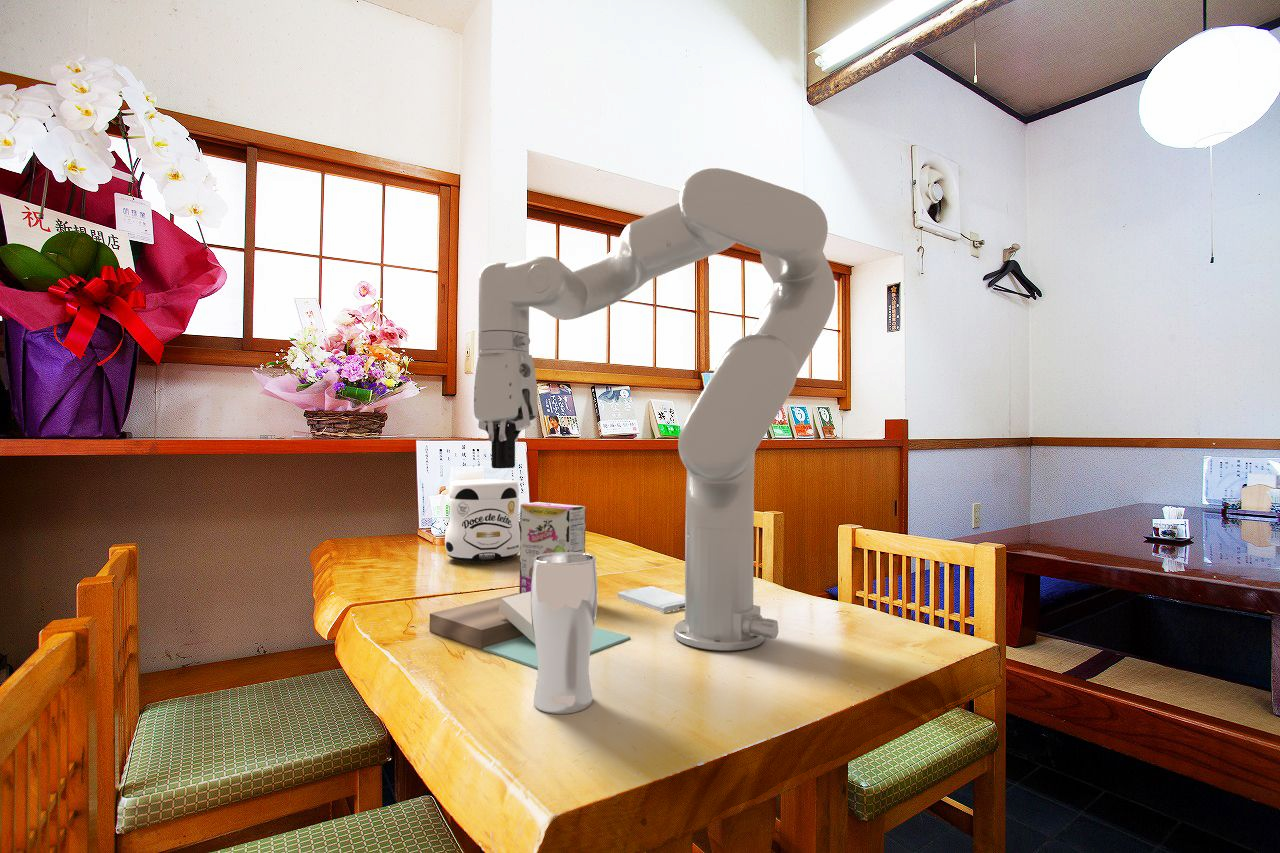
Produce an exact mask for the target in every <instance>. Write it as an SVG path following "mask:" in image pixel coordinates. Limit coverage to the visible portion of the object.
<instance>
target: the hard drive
mask: <svg viewBox="0 0 1280 853" xmlns="http://www.w3.org/2000/svg"><path fill="white" fill-rule="evenodd" d="M617 597H619V598H622V599H624V600H623V601H625V600H627V601H626V602H628V601H630V602H629V603H631V602H633V603H632V604H634V603H636V604H635V605H637V604H639V605H638V606H640V605H642V606H641V607H643V606H645V607H648V608H651V609H654V610H657V611H660V612H663V613H664V614H666V613H665V612H668V611H673V610H678V609H682V610H684V609H683V608H685V595H682V594H679V593H676V592H672V591H669V590H666V589H663V588H660V587H657V586H653V585H649V586H643V587H638V588H632V589H627V590H622V591H618V592H617ZM619 598H618V599H619ZM622 599H621V600H622ZM645 607H644V608H645ZM648 608H647V609H648ZM651 609H650V610H651ZM654 610H653V611H654ZM657 611H656V612H657ZM678 611H679V610H678ZM660 612H659V613H660ZM673 612H674V611H673ZM663 613H662V614H663Z"/></svg>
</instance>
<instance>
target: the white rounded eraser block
mask: <svg viewBox="0 0 1280 853" xmlns="http://www.w3.org/2000/svg"><path fill="white" fill-rule="evenodd" d="M498 611H499V612H500V613H501V614H502V615H503V616H504V617H505V618H507V619H508V620H509V621H510V622H511V623H512V624H513V625H514V626H515V627H517V628H518V629H519V630H520V631H521V632H522V633H523V634H524V635H525V636H527V637H528V638H529V639H530V640H531V641H532V642H533V643H534V644H535V639H534V632H533V626H532V617H531V591H530V592H526V593H522V594H518V595H513V596H509V597H505V598H502V599H501V602H500V606H499V610H498Z"/></svg>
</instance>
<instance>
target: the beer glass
mask: <svg viewBox="0 0 1280 853" xmlns="http://www.w3.org/2000/svg"><path fill="white" fill-rule="evenodd" d="M598 588H599V587H598V573H597V556H595V555H594V554H590V553H588V552H585V553H580V552H554V553H545V554H540V555H537V556H535V557H534V558H533V571H532V582H531V617H532V626H533V632H534V639H535V645H536V651H537V658H538V669H537V678H536V685H535V689H534V694H533V705H534V707H535V708H536V709H537V710H539V711H540V712H544V713H547V714H553V715H568V714H574V713H578V712H582V711H583V710H585V709H587V708H589V707H590V706H591V705H592V703H593V692H592V687H591V681H590V680H591V679H590V657H591V654H590V651H591V645H592V639H593V634H594V628H595V627H596V621H597V614H598V599H599V597H598Z"/></svg>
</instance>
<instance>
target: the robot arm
mask: <svg viewBox="0 0 1280 853" xmlns="http://www.w3.org/2000/svg"><path fill="white" fill-rule="evenodd" d="M678 201H679V202H678V203H676V204H673V205H670V206H668V207H666V208H664V209H661V210H659V211H656V212H654V213H651V214H648V215H646V216H643V217H641V218H639V219H635V220H633V221H631V222H630V223H628V224H627V225H626V226H625V227H624V229H623V230H622V232H621V234H620V236H619V238H618V240H617V242H616V244H615V245H614V247H613V249H612V250H610V252H609V253H607V254H606V255H605V256H604V257H602V258H601V259H599V260H597V261H595V262H594V263H591V264H590V265H588V266H584V267H581V268H580V269H576V270H574V271H572V270H571V269H570V268H569V267H567V265H565V264H564V263H563V262H561V261H560V260H559V259H557V258H555V257H552V256H547V255H546V256H543V255H542V256H537V257H531V258H528V259H526V260H520V261H517V262H514V263H513V262H512V263H509V262H508V263H507V262H494V263H488V264H486V265H484V266H483V267H481V269H480V271H479V273H478V343H477V344H478V346H477V347H478V351H477V353H478V354H477V355H478V357H477V362H476V367H475V373H474V374H475V375H474V376H475V377H474V386H473V387H474V388H473V414H474V417H475V419H476V420H478V424H477V426H478V429H480V430H483V431H486V433H487V434H488V440H489V442H490V443H491V468H492V469H514V468H515V467H516V442H518V440H519V434H521V432H522V431H523V430H526V429H528V428H530V427H531V421H533V420H535V419H536V418H537V416H538V410H539V407H538V403H539V402H538V385H537V376H536V369H535V363H534V362H535V361H534V359H533V355H531V354H530V343H531V339H530V308H533V309H536V310H539V311H542V312H545V313H546V314H548V315H549V316H551V317H552V318H554V319H557V320H561V321H567V320H568V321H569V320H574V319H579V318H582V317H584V316H587V315H589V314H592V313H594V312H595V313H596V312H597V311H599V310H600V311H601V310H602V309H605V308H607V307H610V306H612V305H614V304H615V303H617V302H620V301H621V300H623V299H624V298H626V297H628V296H629V295H630V294H632V293H633V292H635V291H637V290H639V289H640V288H641V287H642V286H644V284H646V283H647V282H649V281H651V280H653V279H655V278H657V277H660V276H662V275H665V274H667V273H670V272H672V271H676V270H677V269H680V268H683V267H685V266H688V265H690V264H693V263H695V262H698V261H701V260H703V259H706V258H709V257H711V256H714V255H716V254H718V253H719V254H720V253H721V252H724V251H726V250H728V249H729V248H731V247H733V246H734V245H735V244H739V245H741V246H744V247H747V248H750V249H752V250H756V251H759V252H760V259H761V263H762V266H763V268H764V270H765V271H766V272H767V274H768V275H769V277H770V278H771V281H772V283H773V292H772V294H771V295H772V296H771V298H770V299H769V301H768V302H767V304H766V305H765V307H764V308H763V310H762V312H761V314H760V316H759V318H758V320H757V321H756V323H755V325H754V326H753V328H752V329H751V331H750V332H749V335H746V336H744V337H742V338H740V339H738V340H737V341H735V342H733V344H732V345H731V346H730V347H729V348H728V349H727V351H725V353H724V354H723V356H722V357H721V359H720V361H719V362H718V364H717V365H716V367H715V369H714V371H713V372H712V374H711V376H710V378H709V380H708V381H707V382H706V384H705V386H704V387H703V390H702V391H701V393H700V395H699V396H698V398H697V400H696V401H695V403H694V405H693V407H692V408H691V410H690V412H689V414H688V416H687V417H686V419H685V421H684V423H683V424H682V427H681V428H680V432H679V435H678V442H677V447H678V448H677V450H678V455H679V458H680V460H681V462H682V464H683V466H684V467H685V469H686V489H685V524H684V525H685V530H684V533H685V534H684V535H685V536H684V537H685V538H684V540H685V545H684V548H685V550H684V551H685V552H684V555H685V556H684V560H685V561H684V566H685V567H684V579H685V580H684V596H685V609H684V619H683V620H680V621H678V622H677V623H676V624H675V625H674V626H673V636H674V638H675V639H676V640H677V641H678V642H680V643H682V644H684V645H685V646H686V645H687V646H690V647H693V648H697V649H702V650H703V649H704V650H709V651H720V652H721V651H722V652H723V651H725V652H726V651H727V652H730V651H731V652H732V651H741V650H748V649H753V648H755V647H758V646H759V645H761V644H762V643H763V642H764V641H765V638H768V639H773V640H776V638H778V635H779V622H778V620H777V619H772V618H765V617H763V616H762V615H761V606H760V605H755V604H754V534H755V533H754V526H755V523H754V522H755V457H756V456H755V454H756V453H755V452H756V450H757V449H758V448H759V446H760V444H761V442H762V441H763V439H764V438H765V436H766V434H767V433H768V431H769V429H770V427H771V426H772V425H773V422H774V421H775V419H776V418H777V416H778V414H779V413H780V411H781V409H782V408H783V406H784V404H785V402H786V401H787V400H788V397H789V396H790V394H791V392H792V391H793V389H794V387H795V384H796V382H797V379H798V378H797V377H798V374H799V373H800V371H801V369H802V367H803V365H804V364H805V362H806V361H807V359H808V357H809V356H810V354H811V353H812V350H813V349H814V346H815V344H816V342H817V341H818V339H819V337H820V336H821V334H822V332H823V330H824V328H825V326H826V325H827V322H828V320H829V318H830V316H831V313H832V311H833V308H834V304H835V299H836V284H835V277H834V273H833V271H832V268H831V265H830V264H829V261H828V259H827V258H826V255H825V253H824V249H825V245H826V242H827V238H828V231H829V230H828V229H829V228H828V225H829V224H828V220H827V216H826V213H825V212H824V210H823V209H822V208H821V206H820V205H819V204H818V203H817V202H816V201H815V200H814V199H811V198H810V197H809V196H807V195H805V194H802V193H800V192H798V191H794V190H792V189H789V188H786V187H782V186H780V185H777V184H775V183H774V184H773V183H771V182H767V181H765V180H763V179H762V180H761V179H758V178H755V177H753V176H750V175H747V174H744V173H740V172H737V171H734V170H731V169H726V168H725V169H724V168H721V167H719V168H717V167H714V168H712V167H711V168H706V169H702V170H699V171H697V172H695V173H694V174H692V175H691V176H690V177H688V178H687V180H686V181H685V182H684V184H683V185H682V188H681V189H680V192H679V199H678Z"/></svg>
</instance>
